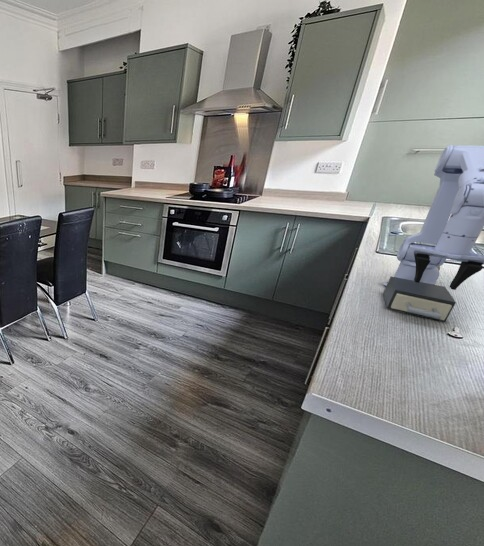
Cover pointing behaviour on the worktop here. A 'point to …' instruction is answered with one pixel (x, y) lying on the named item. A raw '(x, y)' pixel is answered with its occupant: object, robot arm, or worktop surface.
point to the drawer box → (416, 293)
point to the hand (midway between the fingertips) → (433, 284)
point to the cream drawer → (421, 306)
